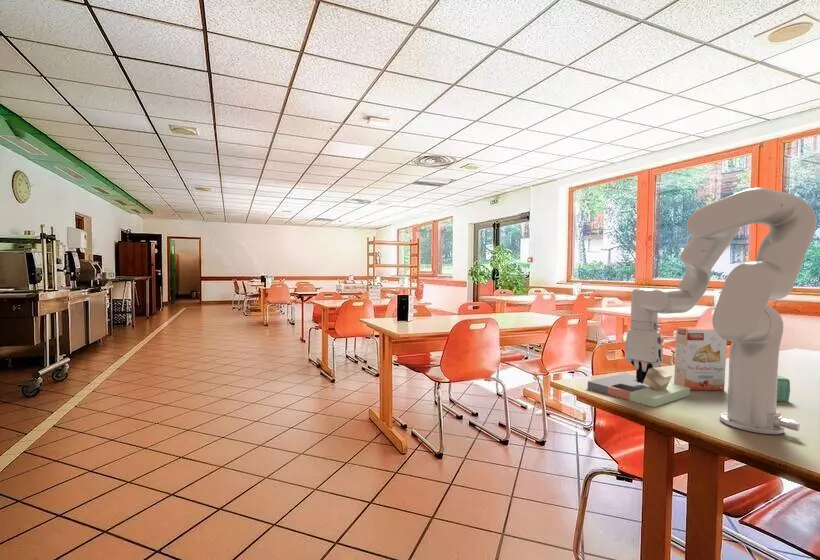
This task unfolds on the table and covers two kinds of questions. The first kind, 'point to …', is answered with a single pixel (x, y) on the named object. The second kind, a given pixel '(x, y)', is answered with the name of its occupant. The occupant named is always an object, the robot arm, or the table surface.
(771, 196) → the robot arm
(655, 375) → the block
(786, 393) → the box
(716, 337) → the cracker box
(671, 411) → the table surface
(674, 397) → the platform
